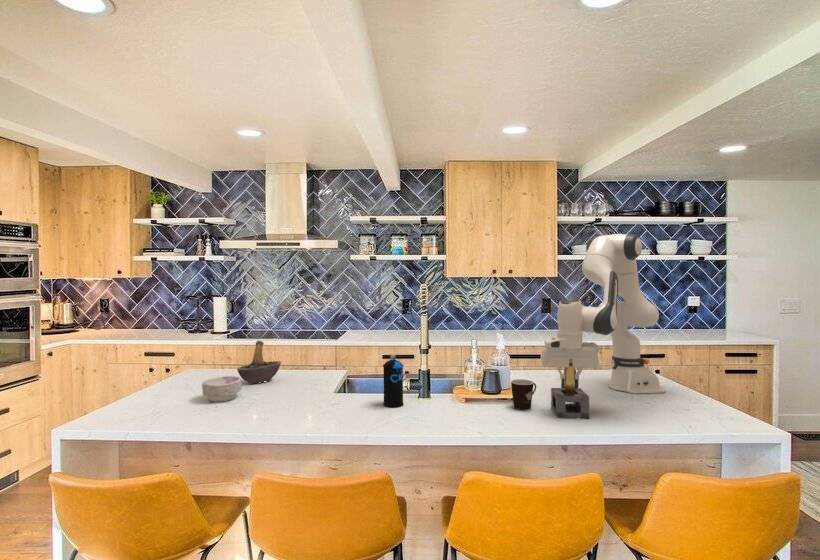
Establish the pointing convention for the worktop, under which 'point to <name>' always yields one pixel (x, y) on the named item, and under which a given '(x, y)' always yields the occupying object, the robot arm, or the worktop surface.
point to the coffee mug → (522, 393)
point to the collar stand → (570, 410)
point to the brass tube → (569, 379)
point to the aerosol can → (393, 383)
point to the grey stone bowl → (221, 388)
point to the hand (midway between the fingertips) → (569, 379)
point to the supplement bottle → (575, 382)
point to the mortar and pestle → (259, 367)
